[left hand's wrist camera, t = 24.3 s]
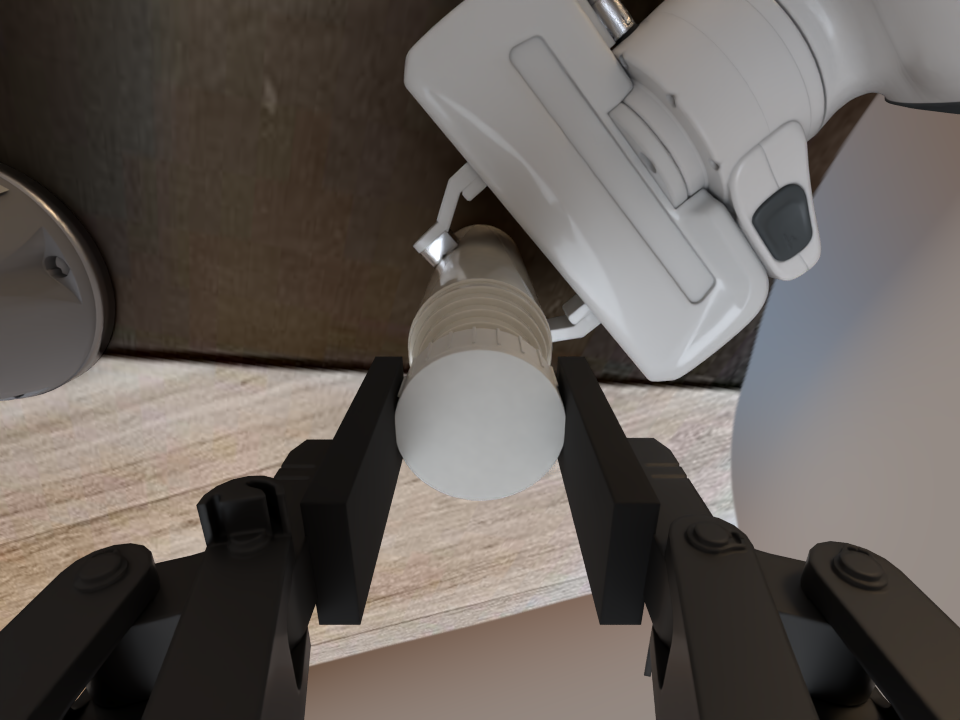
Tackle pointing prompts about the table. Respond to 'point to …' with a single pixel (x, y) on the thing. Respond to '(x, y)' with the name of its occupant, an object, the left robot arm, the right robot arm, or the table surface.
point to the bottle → (480, 294)
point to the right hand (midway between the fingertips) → (467, 303)
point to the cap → (480, 415)
